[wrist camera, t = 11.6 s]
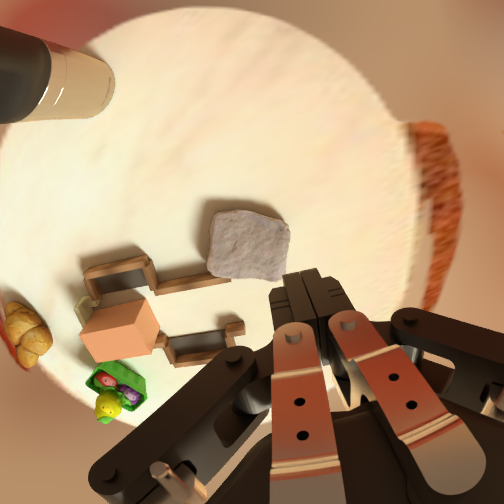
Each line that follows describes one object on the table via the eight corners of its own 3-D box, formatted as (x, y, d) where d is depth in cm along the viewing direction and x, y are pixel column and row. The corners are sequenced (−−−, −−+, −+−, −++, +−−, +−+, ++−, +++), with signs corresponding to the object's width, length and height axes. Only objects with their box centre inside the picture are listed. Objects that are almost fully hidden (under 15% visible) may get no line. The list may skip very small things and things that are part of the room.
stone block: (210, 205, 46) (206, 271, 48) (209, 207, 42) (204, 279, 44) (289, 212, 48) (282, 276, 50) (296, 214, 43) (288, 285, 45)
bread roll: (4, 303, 50) (-16, 324, 42) (27, 288, 49) (6, 310, 41) (38, 350, 55) (23, 374, 47) (64, 340, 53) (48, 366, 46)
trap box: (222, 238, 46) (221, 244, 44) (251, 347, 54) (251, 356, 52) (75, 270, 47) (69, 277, 45) (121, 364, 55) (118, 373, 53)
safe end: (86, 296, 49) (77, 308, 46) (110, 345, 54) (104, 358, 50) (82, 296, 49) (73, 308, 46) (106, 345, 54) (100, 359, 50)
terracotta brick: (146, 297, 50) (134, 323, 43) (160, 326, 52) (151, 354, 45) (94, 310, 51) (78, 335, 44) (109, 336, 53) (96, 362, 46)
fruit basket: (154, 379, 57) (142, 422, 47) (134, 398, 60) (123, 438, 49) (105, 348, 54) (86, 389, 44) (90, 370, 56) (72, 408, 46)
